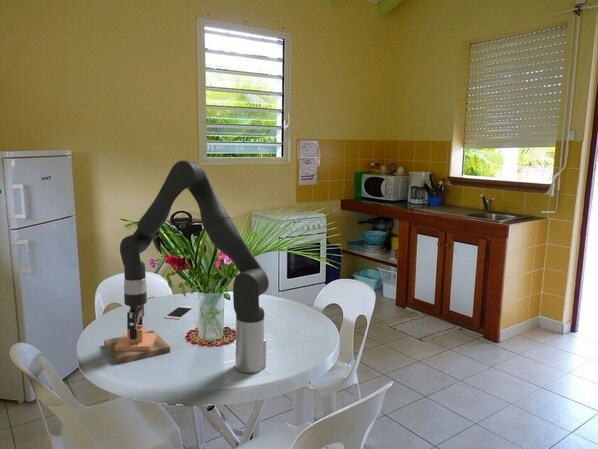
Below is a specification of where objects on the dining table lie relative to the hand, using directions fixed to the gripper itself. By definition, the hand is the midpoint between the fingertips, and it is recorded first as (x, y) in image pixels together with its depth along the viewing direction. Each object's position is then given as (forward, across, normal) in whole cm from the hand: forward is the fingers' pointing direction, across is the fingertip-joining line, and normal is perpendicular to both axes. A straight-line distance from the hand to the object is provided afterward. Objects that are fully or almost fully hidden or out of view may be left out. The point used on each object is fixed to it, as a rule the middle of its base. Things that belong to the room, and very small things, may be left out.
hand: (136, 334), depth 169 cm
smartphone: (+6, +38, -9) cm, 39 cm away
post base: (+5, 0, 0) cm, 5 cm away
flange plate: (+3, 0, 0) cm, 3 cm away
